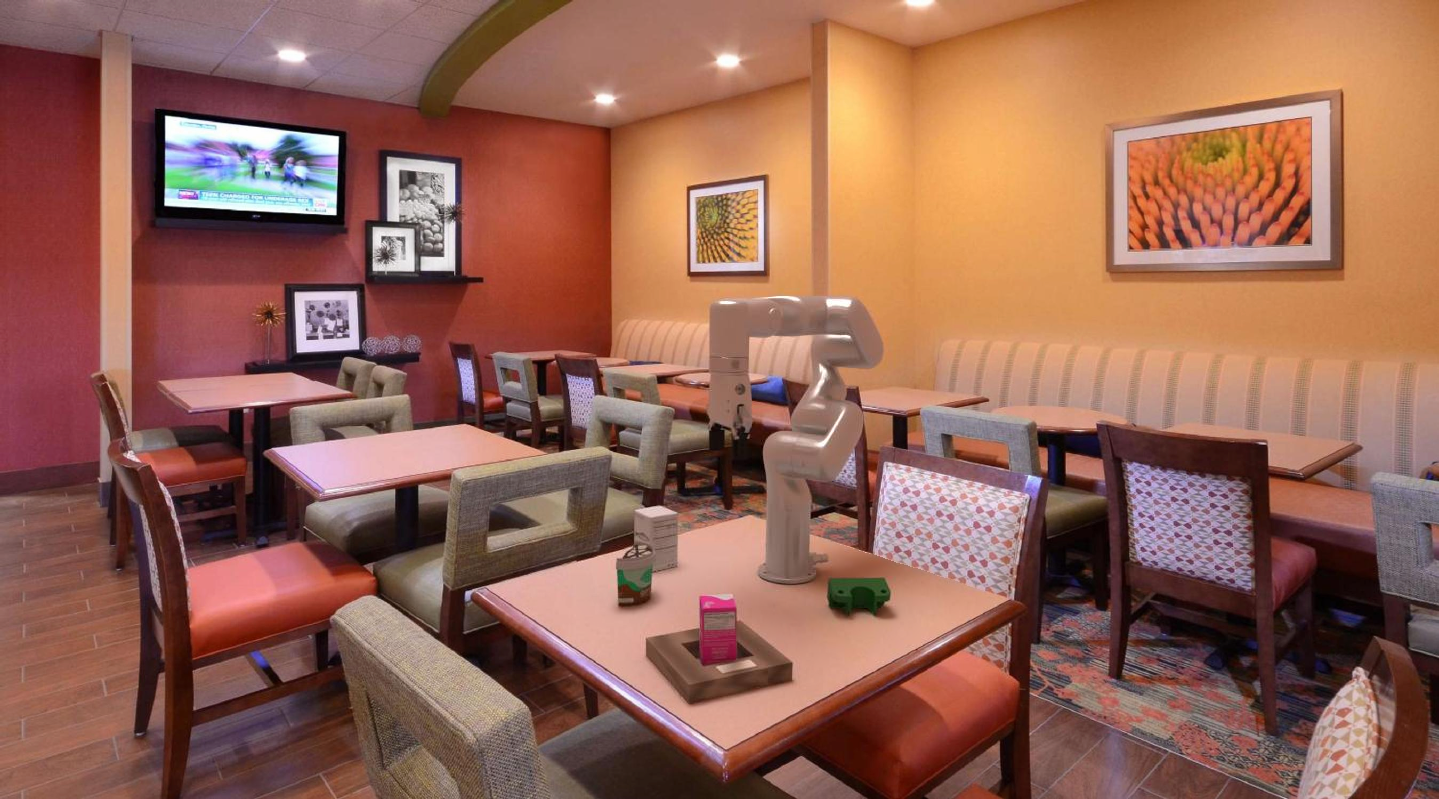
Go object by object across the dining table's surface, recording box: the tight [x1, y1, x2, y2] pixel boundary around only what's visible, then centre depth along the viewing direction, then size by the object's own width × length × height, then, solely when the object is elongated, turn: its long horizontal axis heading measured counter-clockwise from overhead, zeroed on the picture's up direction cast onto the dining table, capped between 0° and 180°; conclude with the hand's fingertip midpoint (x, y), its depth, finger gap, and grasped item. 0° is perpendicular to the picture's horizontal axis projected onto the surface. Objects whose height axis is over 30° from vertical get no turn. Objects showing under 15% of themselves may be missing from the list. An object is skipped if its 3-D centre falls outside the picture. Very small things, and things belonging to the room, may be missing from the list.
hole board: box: [645, 619, 794, 705], centre depth 133 cm, size 18×18×3 cm
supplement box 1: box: [633, 505, 679, 573], centre depth 181 cm, size 7×7×13 cm
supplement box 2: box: [698, 593, 738, 666], centre depth 133 cm, size 6×6×12 cm
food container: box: [615, 541, 657, 607], centre depth 161 cm, size 12×6×10 cm, turn 168°
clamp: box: [826, 577, 892, 617], centre depth 157 cm, size 12×6×9 cm
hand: (727, 454), depth 155 cm, fingers open, 9 cm apart
